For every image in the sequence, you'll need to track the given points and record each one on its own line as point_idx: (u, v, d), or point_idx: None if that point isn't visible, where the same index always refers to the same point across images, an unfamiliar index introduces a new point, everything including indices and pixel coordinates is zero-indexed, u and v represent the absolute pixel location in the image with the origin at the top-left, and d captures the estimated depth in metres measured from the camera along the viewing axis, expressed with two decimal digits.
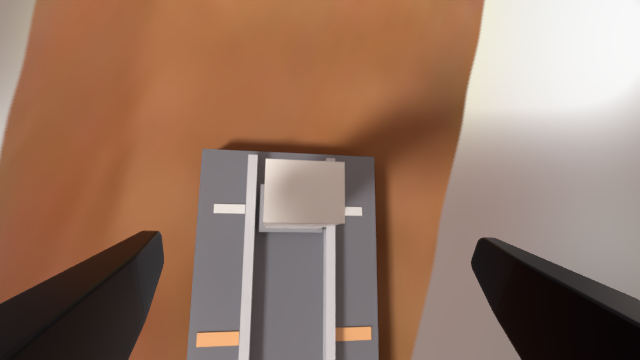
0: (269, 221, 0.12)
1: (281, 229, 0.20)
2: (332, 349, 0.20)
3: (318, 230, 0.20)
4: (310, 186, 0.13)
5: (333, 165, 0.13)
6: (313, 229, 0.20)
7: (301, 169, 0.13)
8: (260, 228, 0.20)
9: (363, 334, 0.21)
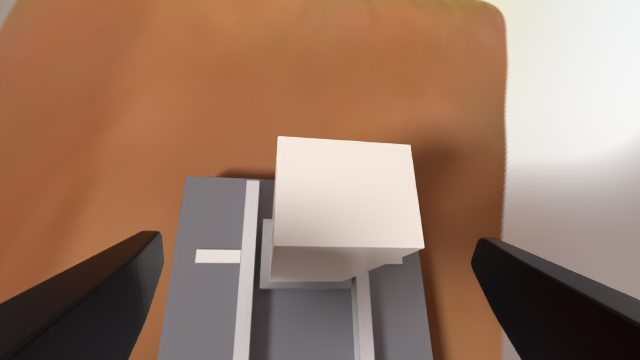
0: (285, 244, 0.06)
1: (292, 284, 0.14)
2: None
3: (346, 284, 0.14)
4: (357, 181, 0.07)
5: (392, 149, 0.08)
6: (338, 283, 0.14)
7: (339, 154, 0.07)
8: (262, 282, 0.14)
9: None
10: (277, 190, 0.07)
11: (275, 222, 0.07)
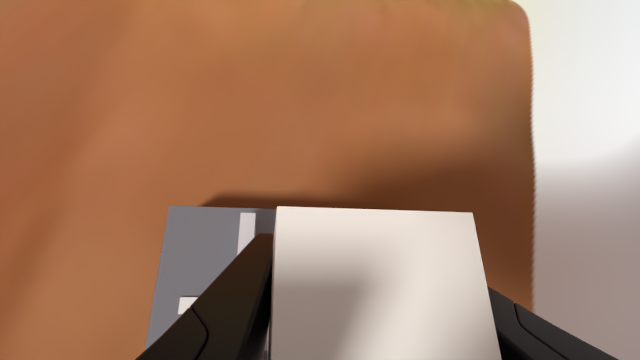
0: None
1: None
2: None
3: None
4: (400, 278, 0.05)
5: (448, 220, 0.05)
6: None
7: (370, 233, 0.05)
8: None
9: None
10: (276, 300, 0.04)
11: (272, 359, 0.04)
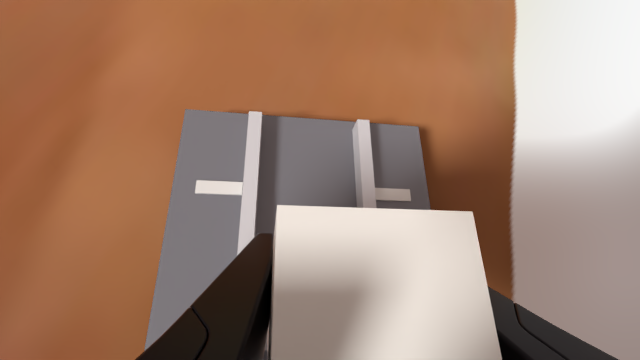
0: None
1: None
2: None
3: None
4: (399, 276, 0.05)
5: (448, 219, 0.05)
6: None
7: (370, 231, 0.05)
8: None
9: None
10: (276, 298, 0.04)
11: (272, 357, 0.04)
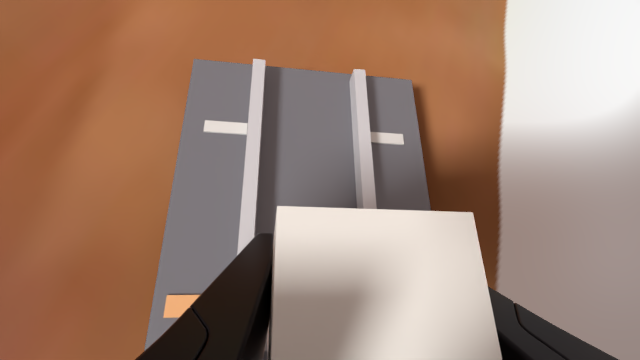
0: None
1: None
2: None
3: None
4: (399, 277, 0.05)
5: (448, 220, 0.05)
6: None
7: (370, 233, 0.05)
8: None
9: None
10: (276, 300, 0.04)
11: (272, 359, 0.04)
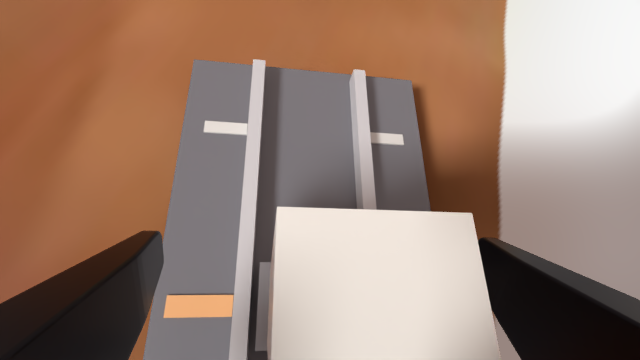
0: None
1: None
2: None
3: None
4: (399, 278, 0.05)
5: (448, 220, 0.05)
6: None
7: (369, 233, 0.05)
8: (258, 344, 0.11)
9: None
10: (276, 300, 0.04)
11: (272, 359, 0.04)
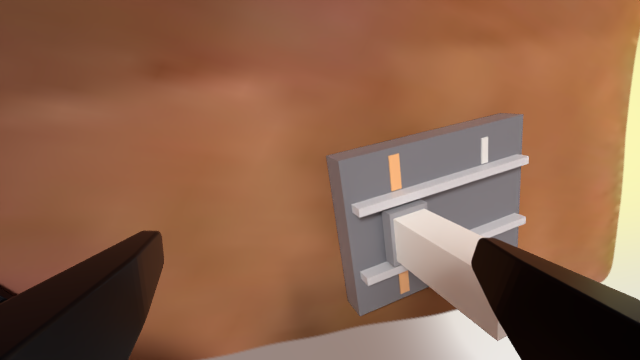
0: None
1: (393, 232, 0.21)
2: (403, 269, 0.23)
3: (395, 263, 0.22)
4: None
5: None
6: (396, 259, 0.22)
7: None
8: (392, 215, 0.21)
9: (403, 286, 0.25)
10: None
11: None
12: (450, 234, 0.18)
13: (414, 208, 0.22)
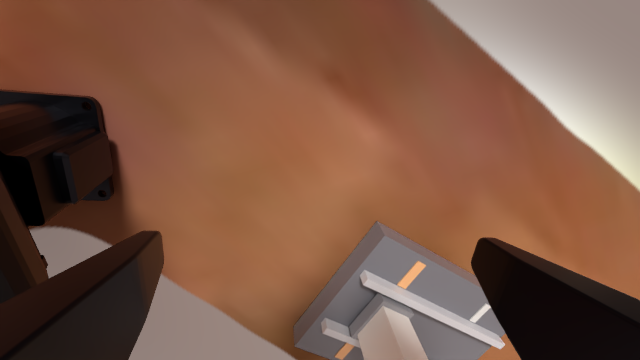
0: None
1: (373, 314, 0.24)
2: (354, 343, 0.25)
3: (354, 335, 0.24)
4: None
5: None
6: (358, 333, 0.24)
7: None
8: (385, 302, 0.23)
9: (340, 353, 0.27)
10: None
11: None
12: (416, 356, 0.20)
13: (402, 311, 0.24)
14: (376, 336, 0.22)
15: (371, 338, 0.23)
